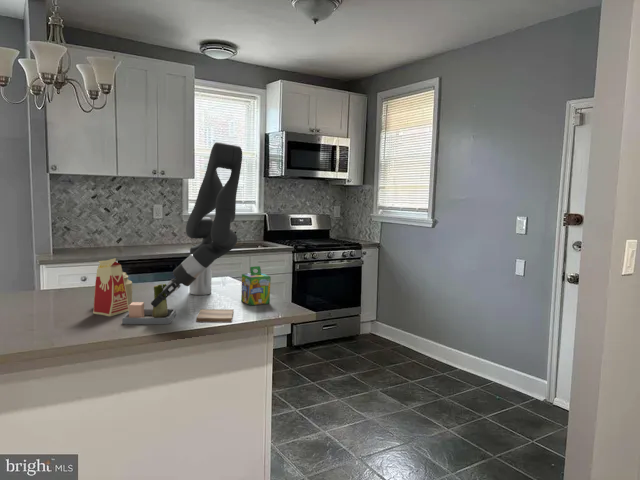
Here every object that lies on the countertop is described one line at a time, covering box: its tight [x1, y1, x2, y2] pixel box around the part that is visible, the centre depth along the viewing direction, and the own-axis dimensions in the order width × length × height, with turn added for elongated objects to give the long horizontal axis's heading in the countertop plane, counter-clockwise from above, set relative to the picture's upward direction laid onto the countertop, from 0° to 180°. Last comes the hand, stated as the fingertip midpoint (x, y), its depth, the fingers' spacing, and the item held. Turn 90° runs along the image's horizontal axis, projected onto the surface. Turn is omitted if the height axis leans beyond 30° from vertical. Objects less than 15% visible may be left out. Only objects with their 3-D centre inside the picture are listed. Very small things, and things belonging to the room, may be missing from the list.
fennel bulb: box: [151, 283, 169, 318], centre depth 163 cm, size 6×5×12 cm
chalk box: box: [240, 265, 272, 306], centre depth 191 cm, size 9×9×15 cm
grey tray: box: [121, 308, 177, 325], centre depth 163 cm, size 12×15×2 cm
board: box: [195, 308, 234, 323], centre depth 168 cm, size 12×12×1 cm
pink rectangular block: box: [128, 301, 145, 318], centre depth 160 cm, size 4×4×6 cm
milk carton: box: [92, 257, 129, 317], centre depth 168 cm, size 9×9×20 cm
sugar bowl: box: [122, 271, 133, 305], centre depth 182 cm, size 15×11×15 cm
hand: (154, 303), depth 163 cm, fingers closed on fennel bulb, 5 cm apart
